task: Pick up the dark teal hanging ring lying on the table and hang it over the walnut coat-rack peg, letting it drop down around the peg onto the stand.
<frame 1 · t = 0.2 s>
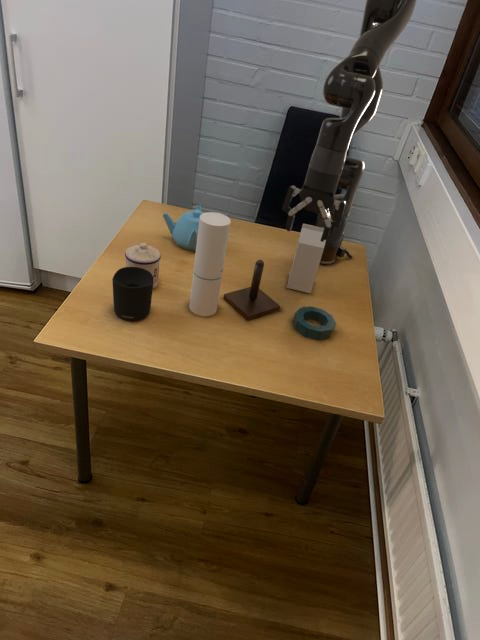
hand: (305, 235, 114), 22 cm above the table, tool pointing down, fingers open, 8 cm apart
rack: (251, 304, 126), on the table
teacup with lid: (142, 280, 127), on the table
pen holder: (132, 312, 115), on the table
teapot: (192, 242, 149), on the table
ring: (312, 326, 122), on the table
cylindrical container: (202, 308, 121), on the table
milk carton: (299, 285, 138), on the table
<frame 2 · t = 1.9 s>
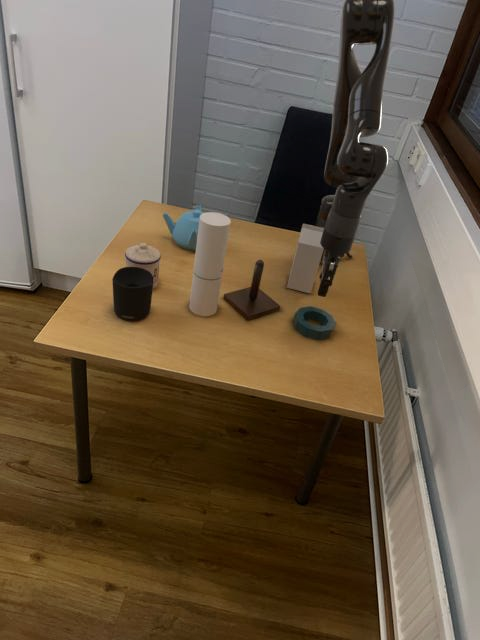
hand: (322, 287, 120), 10 cm above the table, tool pointing down, fingers open, 8 cm apart
nothing on the table moved.
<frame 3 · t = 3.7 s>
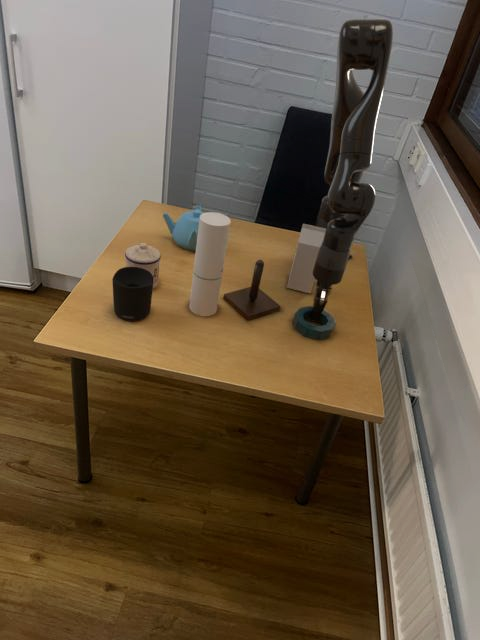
hand: (314, 317, 125), 0 cm above the table, tool pointing down, fingers closed on ring, 2 cm apart
ring: (312, 326, 122), on the table, touching gripper
everything else where it was.
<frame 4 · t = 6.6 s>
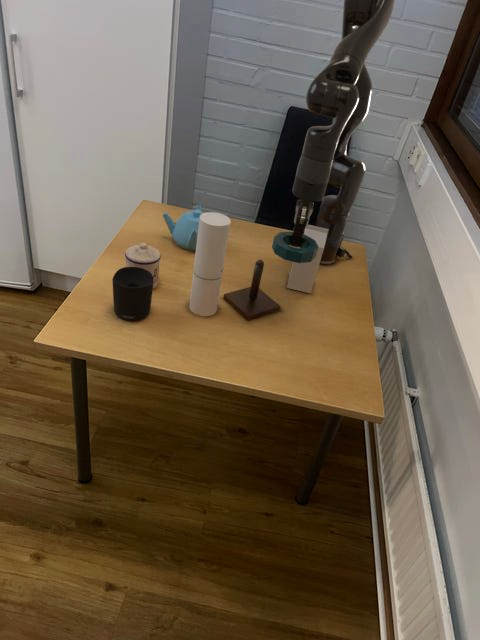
hand: (295, 243, 116), 19 cm above the table, tool pointing down, fingers closed on ring
ring: (293, 251, 113), point 19 cm above the table, touching gripper
everything else where it was.
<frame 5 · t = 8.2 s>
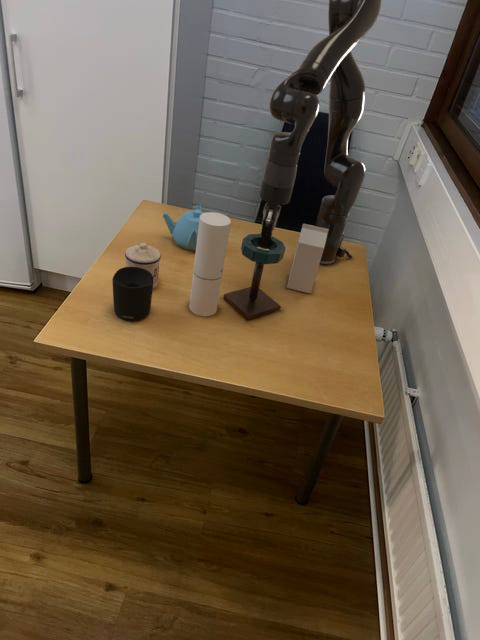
hand: (264, 245, 120), 16 cm above the table, tool pointing down, fingers closed on ring
ring: (262, 253, 117), point 16 cm above the table, touching gripper
everything else where it was.
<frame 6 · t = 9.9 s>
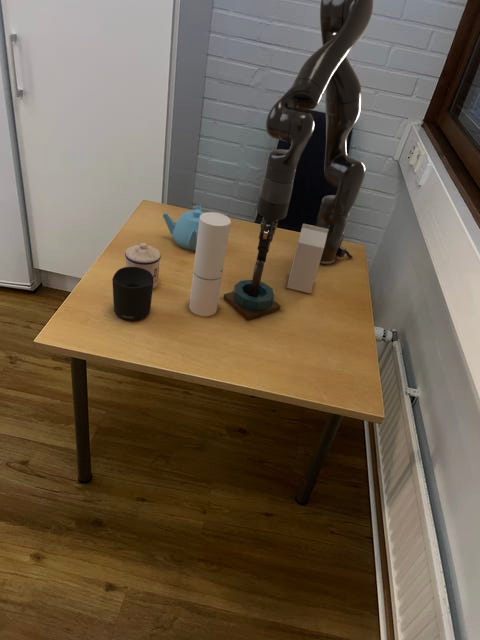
hand: (262, 256, 123), 12 cm above the table, tool pointing down, fingers open, 5 cm apart
ring: (252, 299, 125), point 1 cm above the table, touching rack
everything else where it was.
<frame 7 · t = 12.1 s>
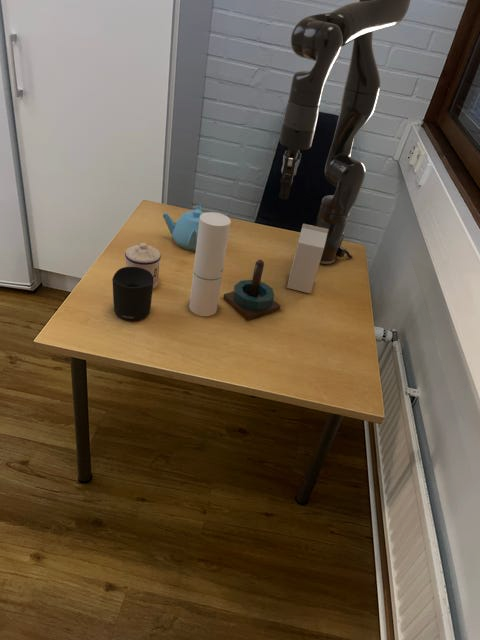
hand: (284, 192, 115), 29 cm above the table, tool pointing down, fingers open, 8 cm apart
nothing on the table moved.
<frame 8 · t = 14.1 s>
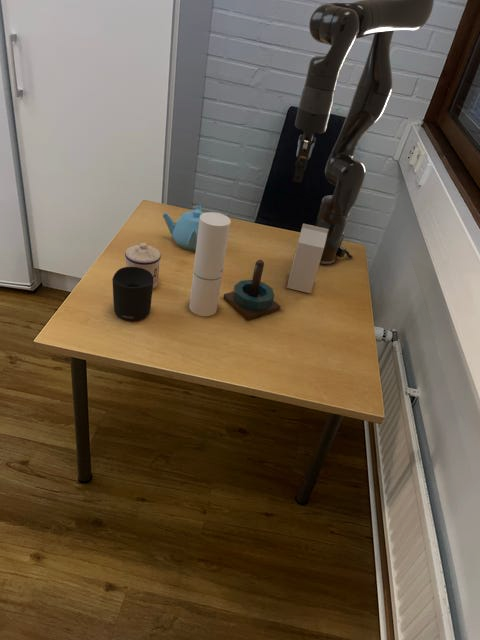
hand: (298, 176, 118), 32 cm above the table, tool pointing down, fingers open, 8 cm apart
nothing on the table moved.
at the end: ring 0.5 cm off-centre on the rack, point 1.5 cm above the rack's base; the gripper is holding nothing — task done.
